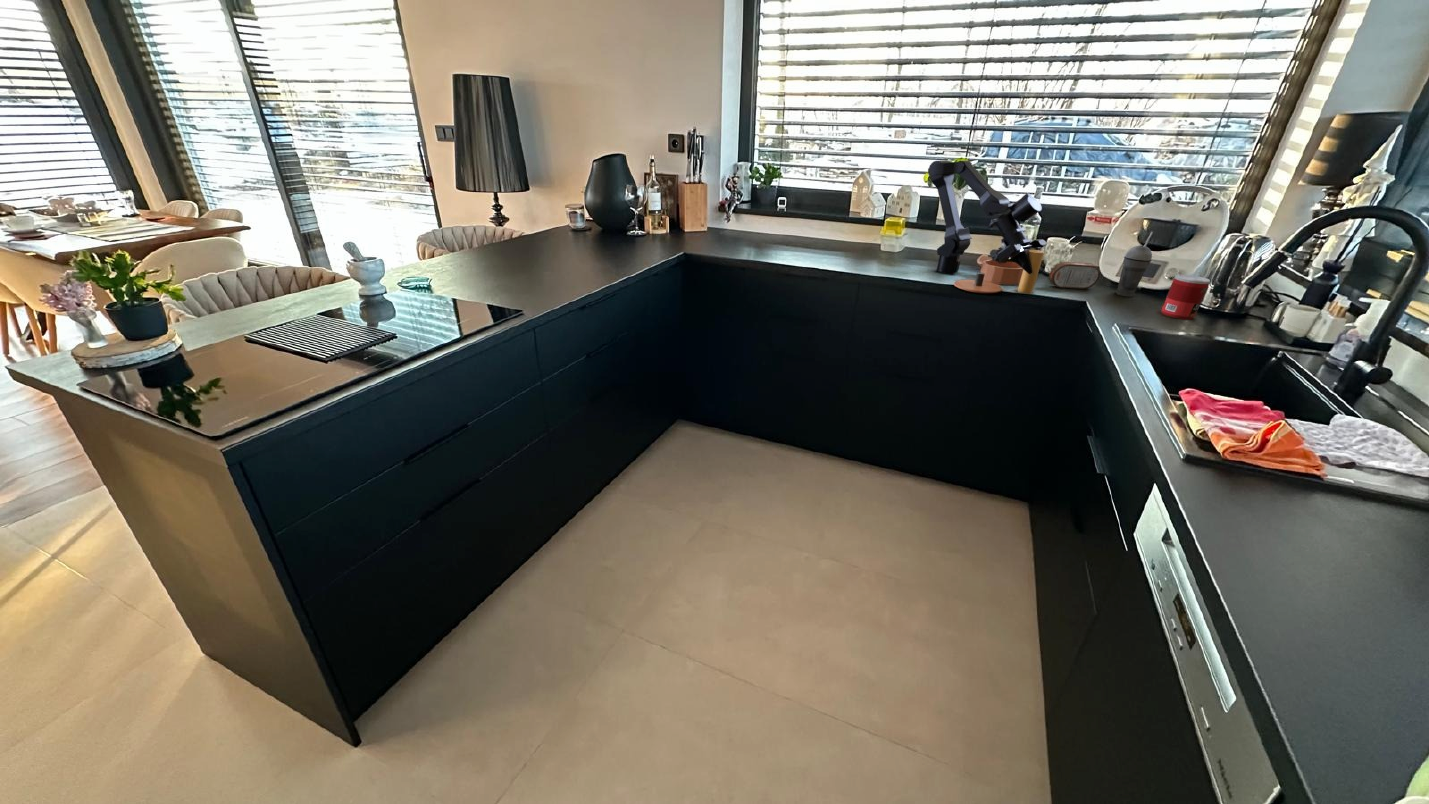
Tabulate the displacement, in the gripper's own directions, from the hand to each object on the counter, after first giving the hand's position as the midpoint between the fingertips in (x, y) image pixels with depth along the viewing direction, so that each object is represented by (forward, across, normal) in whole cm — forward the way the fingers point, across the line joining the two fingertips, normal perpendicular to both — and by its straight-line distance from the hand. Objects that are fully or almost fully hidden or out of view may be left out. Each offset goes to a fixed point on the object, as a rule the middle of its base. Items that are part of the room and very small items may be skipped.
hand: (1034, 272), depth 177 cm
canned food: (+30, -15, +20) cm, 39 cm away
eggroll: (+4, 0, -6) cm, 7 cm away
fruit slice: (-14, -17, -23) cm, 32 cm away
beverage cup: (+17, -26, +8) cm, 32 cm away
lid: (-4, +11, -12) cm, 17 cm away
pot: (-6, -7, -15) cm, 17 cm away
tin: (+8, -19, -2) cm, 20 cm away
